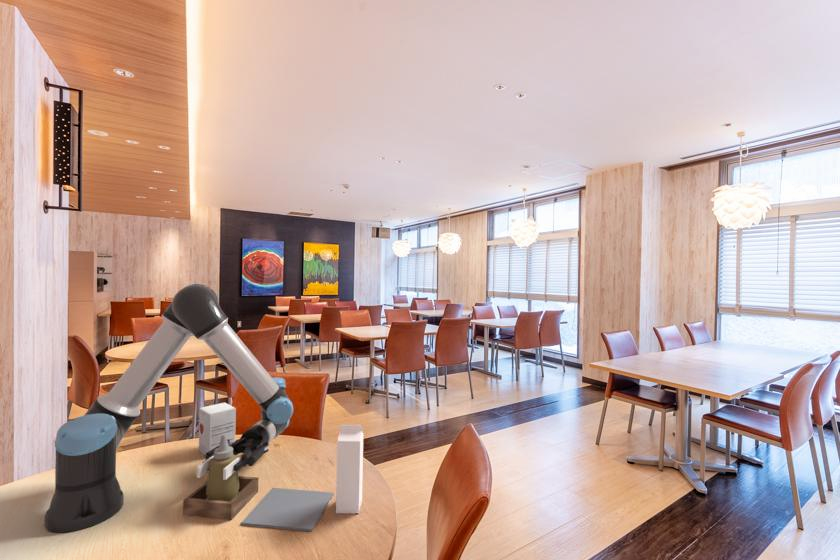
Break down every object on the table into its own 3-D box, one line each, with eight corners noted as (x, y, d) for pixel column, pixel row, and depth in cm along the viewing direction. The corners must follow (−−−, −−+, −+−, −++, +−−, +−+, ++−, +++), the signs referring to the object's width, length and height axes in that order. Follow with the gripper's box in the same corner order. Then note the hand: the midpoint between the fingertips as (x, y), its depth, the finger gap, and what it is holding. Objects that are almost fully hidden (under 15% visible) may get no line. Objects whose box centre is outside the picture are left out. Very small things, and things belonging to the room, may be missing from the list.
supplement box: (197, 450, 135) (198, 407, 134) (224, 442, 141) (225, 401, 141) (208, 458, 129) (209, 413, 129) (235, 450, 136) (236, 407, 135)
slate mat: (241, 525, 95) (241, 522, 95) (272, 489, 111) (272, 487, 111) (311, 531, 93) (311, 529, 93) (333, 494, 109) (333, 492, 109)
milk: (340, 500, 106) (341, 420, 106) (362, 500, 106) (363, 420, 106) (335, 513, 100) (337, 428, 100) (359, 514, 100) (360, 429, 100)
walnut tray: (182, 515, 98) (183, 499, 98) (215, 488, 111) (215, 474, 111) (231, 520, 97) (231, 504, 97) (258, 491, 110) (258, 477, 110)
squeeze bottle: (225, 514, 99) (226, 444, 99) (198, 509, 101) (199, 440, 101) (245, 496, 107) (246, 431, 107) (220, 492, 109) (221, 428, 109)
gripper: (287, 450, 121) (247, 491, 98) (228, 446, 123) (175, 485, 100) (288, 426, 121) (247, 461, 98) (229, 423, 123) (176, 456, 100)
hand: (211, 473), depth 99 cm, fingers closed on squeeze bottle, 6 cm apart
